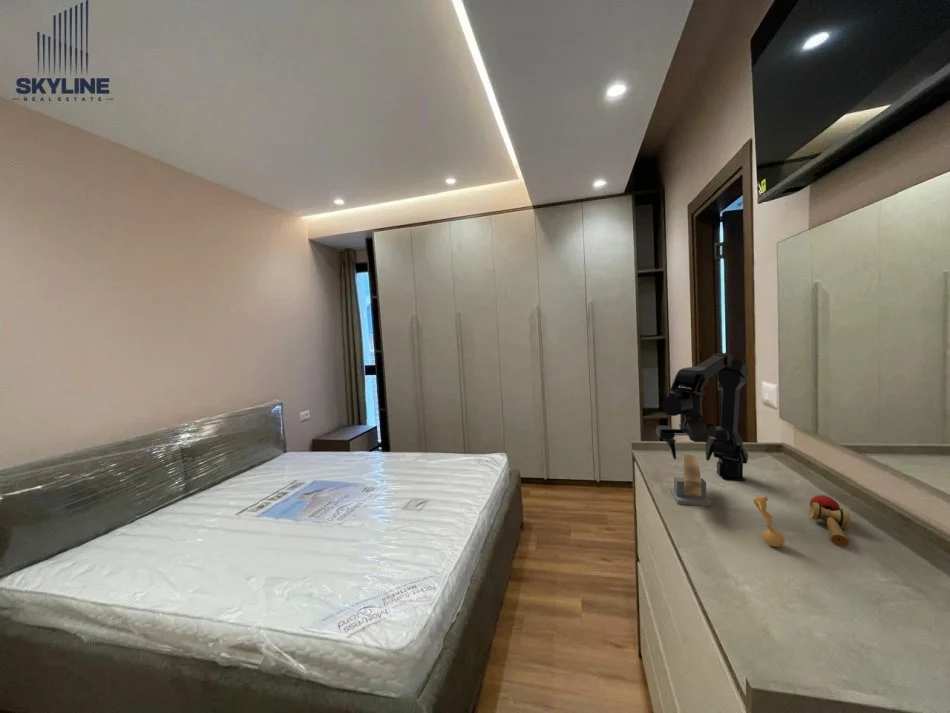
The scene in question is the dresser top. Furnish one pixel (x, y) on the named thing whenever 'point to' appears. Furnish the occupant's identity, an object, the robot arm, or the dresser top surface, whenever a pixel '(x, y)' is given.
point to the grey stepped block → (684, 498)
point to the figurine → (770, 534)
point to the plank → (691, 475)
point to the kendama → (831, 517)
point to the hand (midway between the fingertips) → (690, 459)
